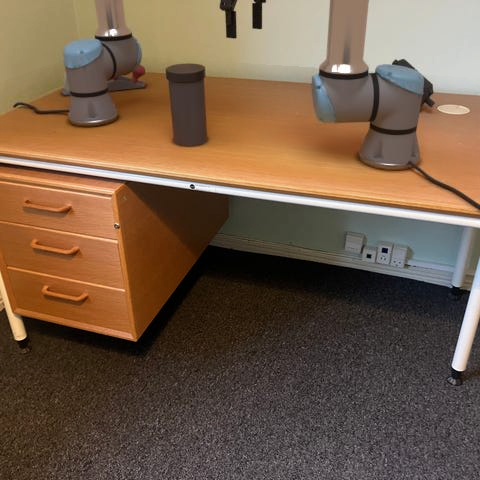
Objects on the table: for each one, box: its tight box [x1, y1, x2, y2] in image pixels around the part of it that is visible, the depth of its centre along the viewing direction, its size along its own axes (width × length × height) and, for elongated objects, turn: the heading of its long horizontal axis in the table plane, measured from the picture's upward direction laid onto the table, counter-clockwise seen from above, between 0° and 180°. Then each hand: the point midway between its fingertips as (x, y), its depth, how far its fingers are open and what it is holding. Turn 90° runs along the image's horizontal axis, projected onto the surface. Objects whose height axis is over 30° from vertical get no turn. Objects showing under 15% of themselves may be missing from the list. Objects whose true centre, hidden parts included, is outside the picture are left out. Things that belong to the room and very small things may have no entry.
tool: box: [391, 58, 436, 108], centre depth 172 cm, size 6×19×15 cm, turn 51°
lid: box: [165, 62, 206, 82], centre depth 143 cm, size 11×11×2 cm
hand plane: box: [61, 64, 146, 96], centre depth 194 cm, size 7×31×15 cm, turn 107°
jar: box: [167, 78, 208, 147], centre depth 148 cm, size 10×10×20 cm
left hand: (244, 33), depth 143 cm, fingers open, 13 cm apart
